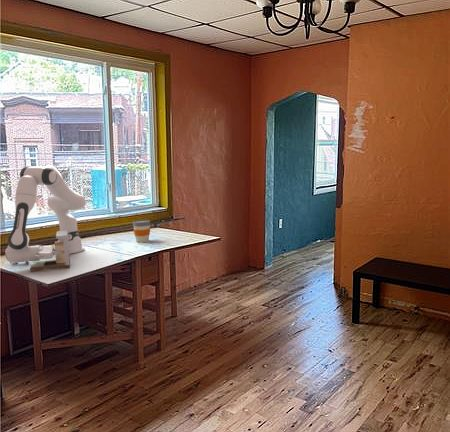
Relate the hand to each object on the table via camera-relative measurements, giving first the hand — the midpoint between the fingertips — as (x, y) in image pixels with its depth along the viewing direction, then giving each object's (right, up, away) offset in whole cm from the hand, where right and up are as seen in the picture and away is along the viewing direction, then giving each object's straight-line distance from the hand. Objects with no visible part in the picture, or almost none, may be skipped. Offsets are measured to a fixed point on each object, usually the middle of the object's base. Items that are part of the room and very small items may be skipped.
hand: (61, 251), depth 265 cm
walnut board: (-6, -9, -1) cm, 11 cm away
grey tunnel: (+1, -7, +1) cm, 7 cm away
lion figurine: (-27, -8, +9) cm, 29 cm away
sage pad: (-13, -8, -3) cm, 15 cm away
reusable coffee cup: (+36, +2, +64) cm, 73 cm away
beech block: (-1, -6, +1) cm, 7 cm away
